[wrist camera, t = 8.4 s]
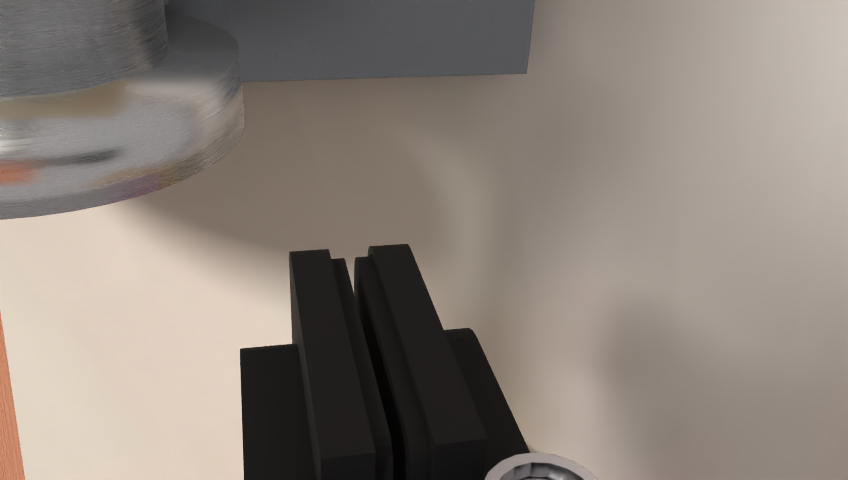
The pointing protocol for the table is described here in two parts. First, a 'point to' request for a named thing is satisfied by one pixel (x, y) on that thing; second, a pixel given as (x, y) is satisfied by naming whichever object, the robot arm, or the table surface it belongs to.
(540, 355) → the table surface
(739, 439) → the table surface
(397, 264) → the robot arm
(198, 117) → the valve body
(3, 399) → the valve lever
